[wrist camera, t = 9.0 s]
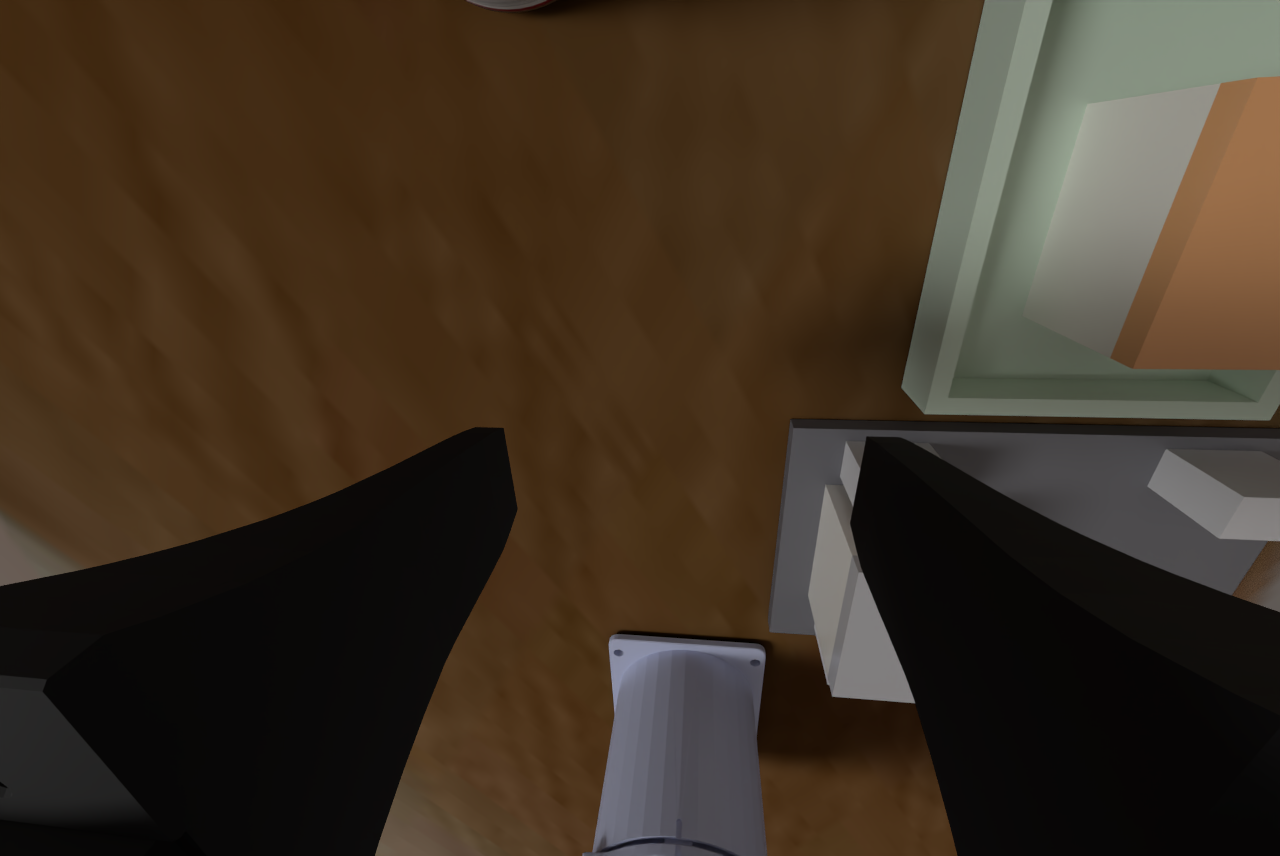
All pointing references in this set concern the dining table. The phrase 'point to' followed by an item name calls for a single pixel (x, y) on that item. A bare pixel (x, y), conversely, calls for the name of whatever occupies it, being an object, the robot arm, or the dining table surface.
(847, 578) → the block
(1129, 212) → the block
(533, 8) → the soda can
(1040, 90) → the tray
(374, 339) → the dining table surface
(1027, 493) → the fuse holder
